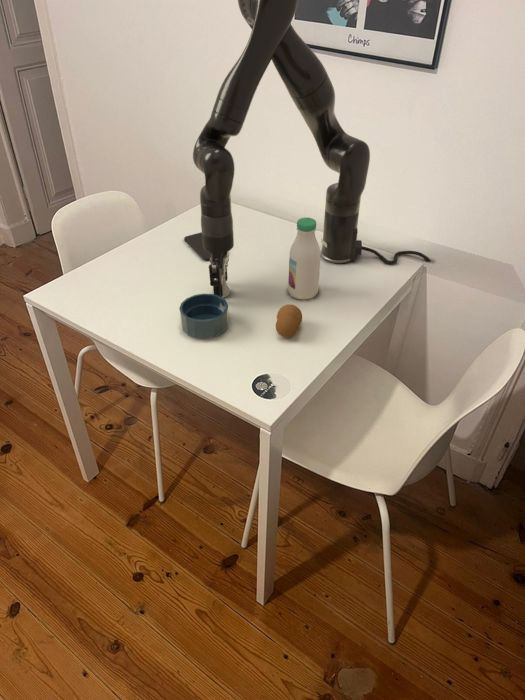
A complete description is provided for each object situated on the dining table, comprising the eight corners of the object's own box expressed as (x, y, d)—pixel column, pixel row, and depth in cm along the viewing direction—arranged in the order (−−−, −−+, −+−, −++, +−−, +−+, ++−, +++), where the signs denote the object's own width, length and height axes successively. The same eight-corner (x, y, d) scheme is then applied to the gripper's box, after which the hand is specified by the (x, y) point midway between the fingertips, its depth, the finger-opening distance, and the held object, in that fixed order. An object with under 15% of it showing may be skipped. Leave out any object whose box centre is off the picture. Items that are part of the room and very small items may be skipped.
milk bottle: (321, 287, 140) (326, 216, 127) (313, 302, 134) (318, 230, 122) (292, 282, 142) (295, 212, 129) (284, 297, 136) (286, 225, 124)
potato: (302, 320, 129) (303, 300, 125) (300, 343, 122) (301, 322, 118) (277, 319, 129) (278, 298, 125) (274, 341, 122) (274, 320, 118)
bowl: (232, 313, 131) (231, 294, 127) (224, 341, 122) (223, 322, 119) (187, 310, 132) (185, 292, 128) (177, 338, 123) (174, 319, 120)
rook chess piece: (227, 299, 136) (226, 272, 131) (210, 297, 136) (208, 270, 131) (231, 290, 139) (230, 263, 134) (215, 288, 140) (213, 261, 135)
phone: (204, 259, 150) (182, 237, 160) (204, 261, 150) (182, 239, 160) (227, 252, 153) (204, 231, 163) (227, 254, 153) (205, 233, 163)
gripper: (228, 244, 120) (231, 304, 131) (237, 216, 131) (239, 274, 142) (195, 242, 121) (201, 303, 131) (207, 215, 132) (211, 272, 142)
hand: (220, 288), depth 137 cm, fingers open, 7 cm apart
